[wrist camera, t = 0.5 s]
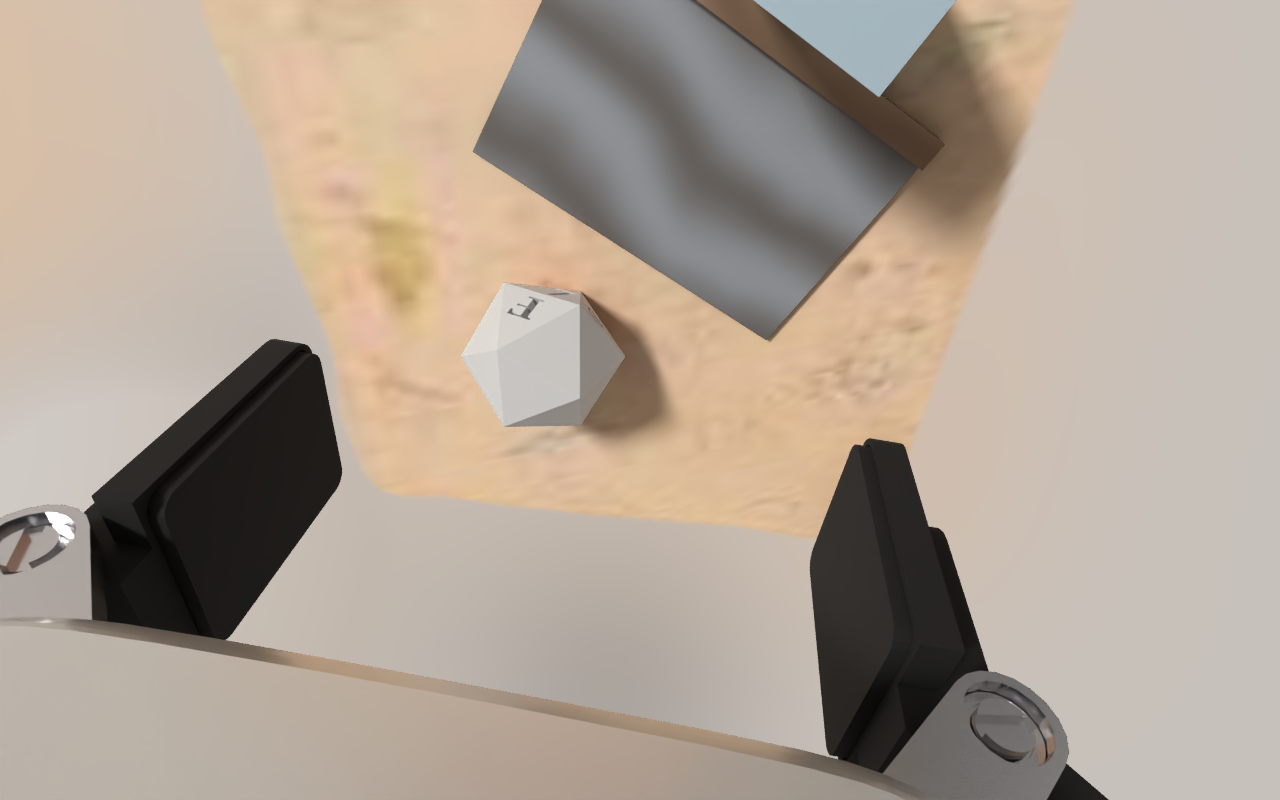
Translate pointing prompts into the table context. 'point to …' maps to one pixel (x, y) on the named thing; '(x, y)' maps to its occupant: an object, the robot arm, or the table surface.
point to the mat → (702, 144)
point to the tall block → (862, 32)
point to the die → (541, 356)
